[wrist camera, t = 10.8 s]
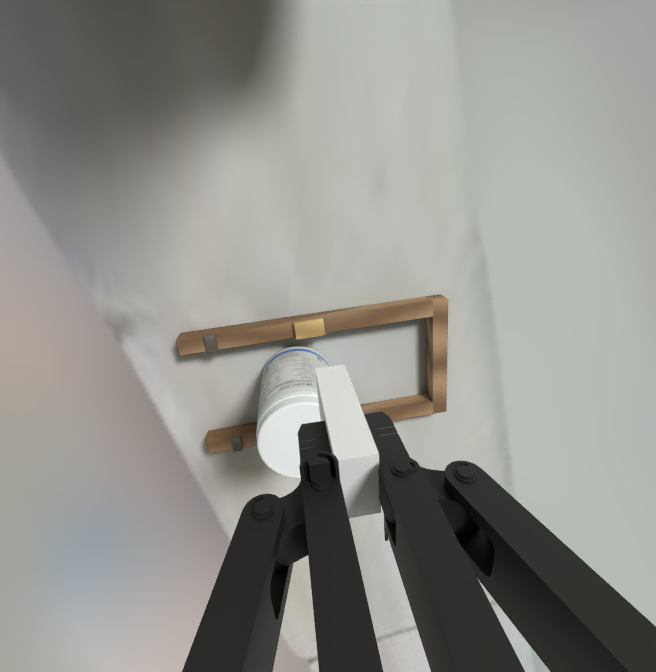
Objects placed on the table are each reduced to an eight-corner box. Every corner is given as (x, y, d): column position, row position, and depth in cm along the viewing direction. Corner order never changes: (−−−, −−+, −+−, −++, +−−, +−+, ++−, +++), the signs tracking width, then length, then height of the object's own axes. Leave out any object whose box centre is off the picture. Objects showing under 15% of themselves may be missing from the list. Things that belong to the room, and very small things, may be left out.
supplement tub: (340, 390, 52) (362, 461, 38) (278, 414, 52) (278, 493, 38) (316, 332, 48) (332, 388, 34) (249, 358, 48) (239, 423, 34)
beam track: (180, 332, 45) (174, 341, 43) (440, 294, 48) (450, 300, 45) (212, 442, 52) (208, 456, 49) (439, 402, 55) (448, 413, 52)
